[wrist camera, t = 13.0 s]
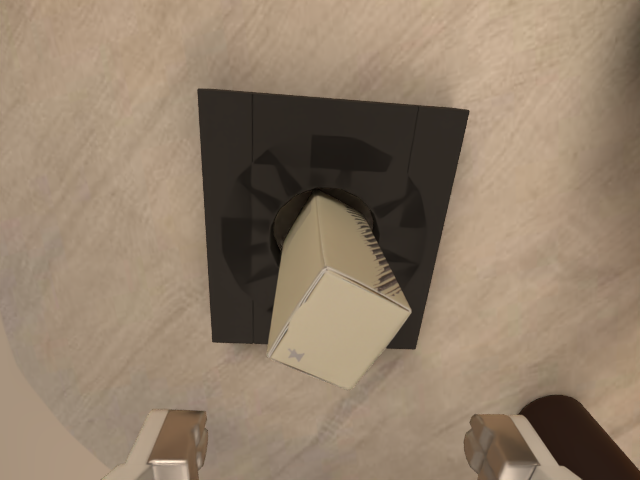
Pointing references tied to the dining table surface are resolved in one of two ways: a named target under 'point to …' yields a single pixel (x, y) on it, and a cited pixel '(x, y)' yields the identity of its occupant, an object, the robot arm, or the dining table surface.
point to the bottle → (578, 440)
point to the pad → (325, 172)
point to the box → (333, 295)
